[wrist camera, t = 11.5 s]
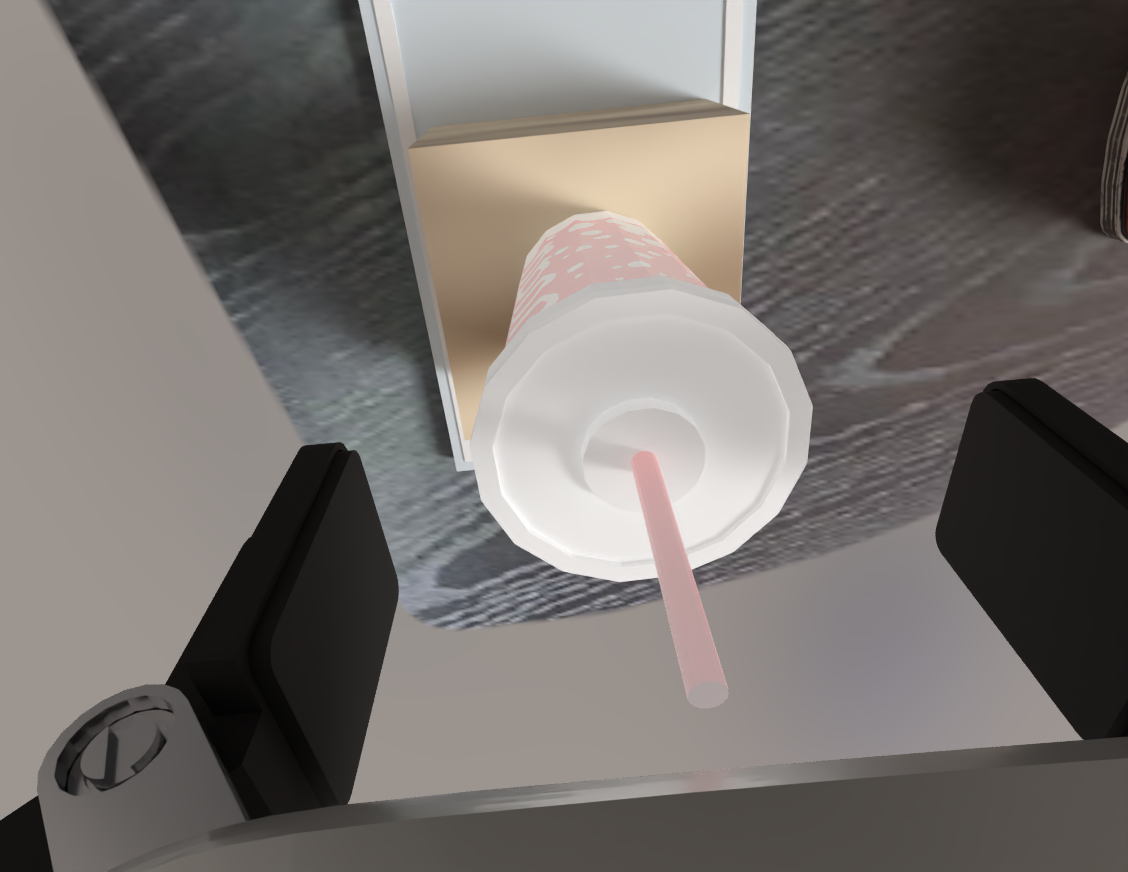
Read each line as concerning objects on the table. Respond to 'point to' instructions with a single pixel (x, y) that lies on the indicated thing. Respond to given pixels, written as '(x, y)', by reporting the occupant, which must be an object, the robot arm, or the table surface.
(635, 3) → the white tray
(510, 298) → the maple block
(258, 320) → the table surface
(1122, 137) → the lighter
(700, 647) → the beverage cup
